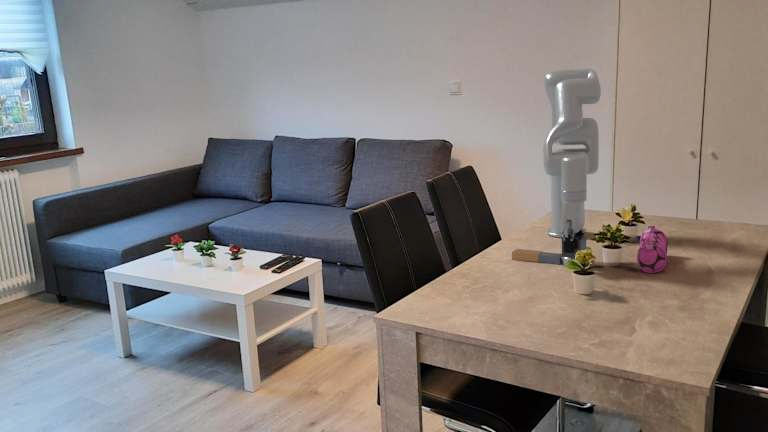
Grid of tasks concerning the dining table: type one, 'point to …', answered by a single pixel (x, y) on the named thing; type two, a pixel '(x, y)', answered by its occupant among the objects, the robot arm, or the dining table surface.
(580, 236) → the dark slate cube
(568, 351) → the dining table surface
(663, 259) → the pencil case
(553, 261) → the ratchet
